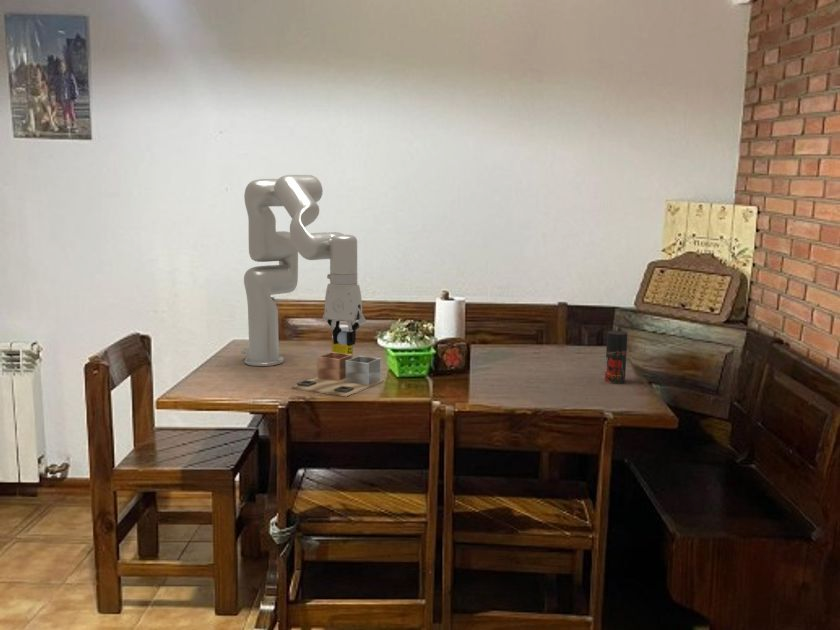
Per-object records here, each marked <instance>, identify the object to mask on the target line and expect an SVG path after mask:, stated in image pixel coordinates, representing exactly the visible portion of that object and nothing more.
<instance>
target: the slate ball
mask: <svg viewBox="0 0 840 630" xmlns="http://www.w3.org/2000/svg"><path fill="white" fill-rule="evenodd" d="M337 341H338V342H339V343H340V344H341V345H347V331H341V332H340V333H339V334H338V335H337Z"/></svg>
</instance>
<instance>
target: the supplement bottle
mask: <svg viewBox="0 0 840 630" xmlns="http://www.w3.org/2000/svg"><path fill="white" fill-rule="evenodd" d="M340 328H341V331H347V332H349V329H348V324H340ZM331 346H332V347H331V352H335V353H342V354H350V355H353V354H354V351H353V350H354V347H353V346H354V345H351V346H348V345H341V344H340V343H338V344H333V334H332V336H331Z"/></svg>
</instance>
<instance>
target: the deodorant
mask: <svg viewBox="0 0 840 630" xmlns="http://www.w3.org/2000/svg"><path fill="white" fill-rule="evenodd" d="M605 349H606V350H605V351H606V353H605V370H604V371H605V372H604V382H606V383H609V384H613V385H614V384H615V385H616V384H617V385H621V384H624V383H625V382H626V369H627V353H628V351H627V350H628V332H626V331H622V330H609V331H607V332H606V348H605Z"/></svg>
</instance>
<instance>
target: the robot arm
mask: <svg viewBox="0 0 840 630" xmlns="http://www.w3.org/2000/svg"><path fill="white" fill-rule="evenodd" d="M244 190H245V191H244V194H243V195H244V196H243V197H244V205H245V209H246V213H247V217H248V254H249V256H250V258H251V260H253V261H254V262H257V263H268V262H278V264H273V265H272V264H271V265H268V264H267V265H259V266H258V265H257V266H253V267H251V268H248V269H247V270H246V271H245V273H244V276H243V285H244V289H245V293H246V300H247V301H246V302H247V321H248V324H247V325H248V326H247V327H248V346H244V347H242V349H241V351H240V353H241V355H246V357H245V358H244V363H245V364H246V365H248V366H252V367H253V366H254V367H270V366H277V365H280V364H282V363H284V361H285V360H284V359H285V358H284V356H281V355H280V350H279V345H280V344H279V339H280V337H279V310H278V306H277V304H276V302H275V301H274V299H273V298H272V296H274V295H282V294H290V293H292V292H294V291H295V290H296V288H297V286H298V281H299V280H298V278H299V272H298V271H299V255H300V256H301V257H302V258H303V259H305V260H307V261H318V260H319V261H321V260H329V274H326V275H327V276H326V278H327V279H328V280H329V283H327V286H326V291H325V297H324V298H325V299H324V313H323V315H322V319H323V320H324V321H325V322H326V323H328V326H329V327H330V329H331V330H332V335H333V344H338V343H339V342H338V341H337V335H338V334H339V333H340V332H341V328H340V325H341V322H346V324H347V325H348V329H349V332H347V345H348V346H351V345H353V346H354V345H355V344H356V341H357V339H356V338H357V335H356V332H357V331H358V329H359V328H360V327H361V326H362V325H364V324H366V323H367V319H366V318H365V316H364V314H363V301H362V300H363V299H362V293H361V286H360V285H359V284H358V239H357V237H356V236H355V235H353V234H344V233H342V232H336V231H333V232H331V231H330V232H309V231H308V230H307V228H306V227H308V226H310V225H311V224H312V223H313V222H315V220H316V219H318V216H319V214H320V206H319V205H318V202H319V201H320V200H321V198H322V196H323V185H322V183H321V181H320V180H319V179H318V178H317V177H316V176H314V175H311V174H287V175H283V176H280V177H279V178H260V179H254V180H252V181H249V183H247V185H246V187H245V189H244ZM271 207H283V208H284V209H285V210H286V212H287V213H288V215H289V216H290V218H291V221H290V224H289V231H286V230H285V231H283V230H282V231H281V230H280V231H278V230H277V229H276V225H277V224H276V223H277V220H276V216H275V213H274V212H273V210H272V209H271ZM357 320H358V321H357Z"/></svg>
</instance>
